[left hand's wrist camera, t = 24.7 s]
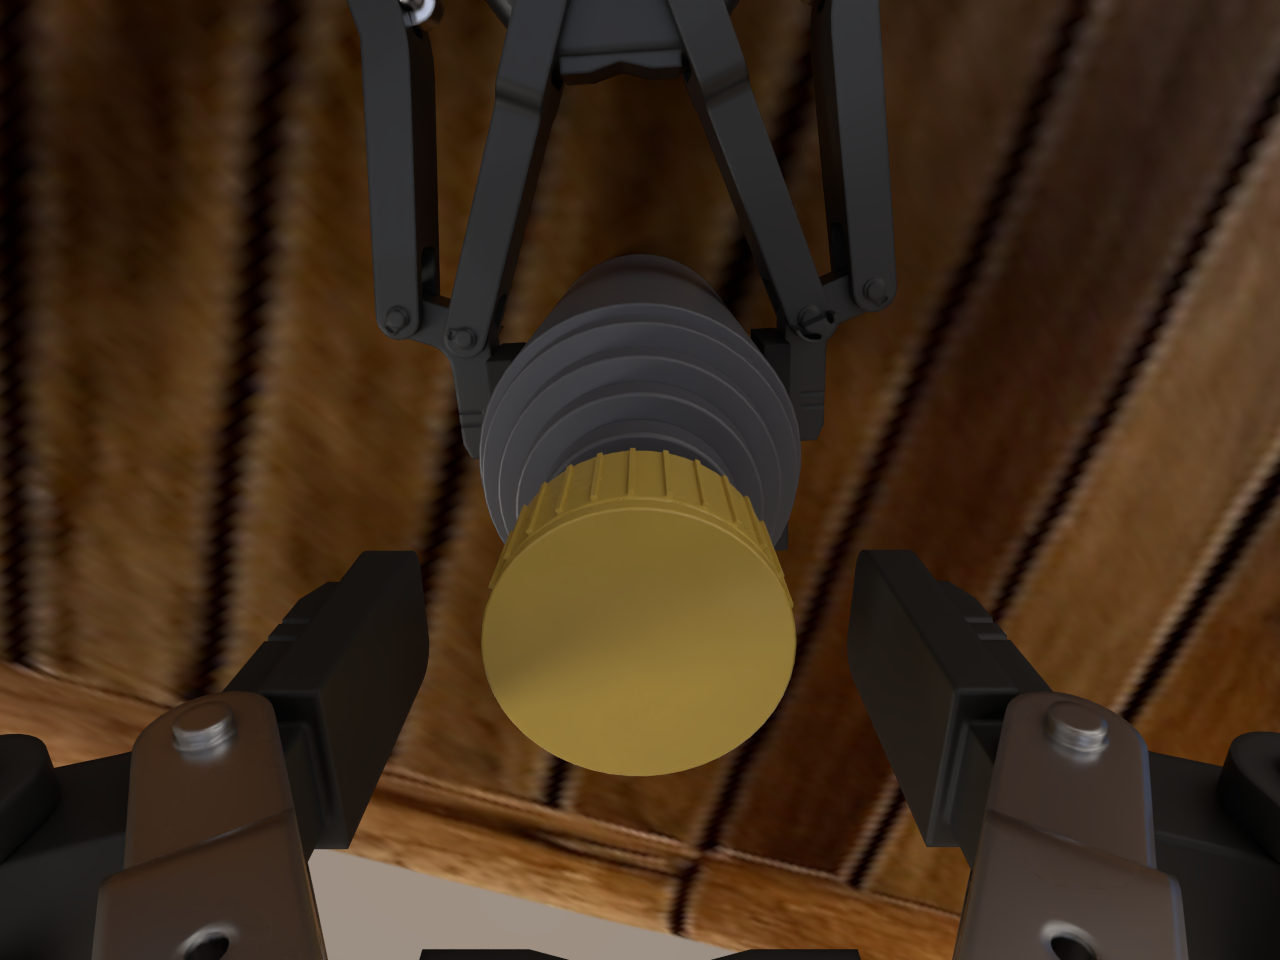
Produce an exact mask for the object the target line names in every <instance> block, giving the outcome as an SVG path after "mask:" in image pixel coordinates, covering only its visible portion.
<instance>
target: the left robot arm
mask: <svg viewBox="0 0 1280 960" xmlns="http://www.w3.org/2000/svg"><path fill="white" fill-rule="evenodd" d="M847 652H848V661H849V667H850V671H851V675H852V678H853V680H854V682H855V685H856V687H857V689H858V691H859V694H860V696H861V698H862V701H863V703H864V705H865V707H866V710H867V712H868V714H869V716H870V719H871V721H872V723H873V726H874V728H875V730H876V732H877V735H878V737H879V739H880V742H881V744H882V746H883V748H884V751H885V753H886V755H887V758H888V760H889V762H890V764H891V767H892V769H893V771H894V774H895V776H896V778H897V780H898V783H899V785H900V787H901V789H902V792H903V794H904V796H905V799H906V801H907V803H908V805H909V808H910V810H911V812H912V815H913V817H914V819H915V821H916V824H917V826H918V828H919V831H920V833H921V835H922V837H923V840H924V842H925V844H926V846H927V847H960V848H961V850H962V852H963V854H964V856H965V858H966V860H967V862H968V864H969V866H970V868H971V871H970V875H969V880H968V884H967V889H966V894H965V899H964V904H963V909H962V914H961V919H960V924H959V929H958V933H957V938H956V943H955V948H954V953H953V958H952V960H1280V733H1275V732H1250V733H1246V734H1242V735H1240V736H1238V737H1237V738H1235V739H1234V741H1233V742H1232V743H1231V746H1230V749H1229V751H1228V754H1227V757H1226V760H1225V762H1224V765H1223V767H1222V766H1217V765H1212V764H1207V763H1203V762H1198V761H1193V760H1188V759H1183V758H1179V757H1174V756H1169V755H1164V754H1159V753H1155V752H1151V751H1148V749H1147V745H1146V743H1145V741H1144V739H1143V738H1142V736H1141V735H1140V734H1139V733H1138V731H1137V730H1136V729H1135V728H1134V727H1133V726H1132V725H1131V724H1130V723H1128V722H1127V721H1126V720H1124V719H1123V718H1122V717H1120V716H1119V715H1117V714H1116V713H1114V712H1112V711H1111V710H1109V709H1107V708H1105V707H1103V706H1101V705H1099V704H1097V703H1094V702H1092V701H1089V700H1087V699H1084V698H1081V697H1078V696H1074V695H1070V694H1066V693H1059V692H1053V691H1052V690H1051V689H1050V687H1049V686H1048V685H1047V684H1046V682H1045V681H1044V680H1043V679H1042V678H1041V676H1040V675H1039V674H1038V673H1037V672H1036V670H1035V669H1034V668H1033V667H1032V666H1031V664H1030V663H1029V662H1028V661H1027V660H1026V658H1025V657H1024V656H1023V655H1022V654H1021V652H1020V651H1019V650H1018V649H1017V647H1016V646H1015V645H1014V644H1013V643H1012V641H1011V640H1007V635H1006V634H1005V633H1004V632H1003V631H1002V629H1001V628H1000V627H999V626H998V625H997V623H993V618H992V617H991V616H990V615H989V614H988V612H987V611H986V610H985V609H984V608H983V606H982V605H981V604H980V603H979V602H978V600H977V599H976V598H974V597H973V596H971V595H970V594H968V593H966V592H965V591H963V590H962V589H960V588H958V587H957V586H955V585H954V584H952V583H950V582H949V581H936V580H935V579H934V578H933V576H932V575H931V574H930V572H929V571H928V570H927V568H926V567H925V566H924V564H923V563H922V562H921V561H920V559H919V558H918V557H917V555H916V554H915V553H914V552H913V551H912V550H862V551H861V552H860V554H859V556H858V559H857V563H856V570H855V578H854V587H853V595H852V603H851V612H850V620H849V628H848V638H847ZM428 657H429V636H428V627H427V619H426V611H425V603H424V594H423V586H422V578H421V570H420V563H419V559H418V556H417V554H416V553H415V552H414V551H364V552H362V554H361V555H360V556H359V557H358V558H357V560H356V561H355V562H354V564H353V565H352V566H351V568H350V569H349V570H348V571H347V573H346V574H345V575H344V577H343V578H342V579H341V580H340V582H327V583H325V584H324V585H322V586H321V587H319V588H317V589H316V590H314V591H312V592H311V593H309V594H308V595H306V596H304V597H303V598H301V599H300V600H299V601H298V602H297V603H296V604H295V606H294V607H293V608H292V609H291V610H290V612H289V613H288V614H287V615H286V616H285V617H284V619H283V622H282V624H279V625H278V626H277V627H276V628H275V629H274V631H273V632H272V633H271V634H270V635H269V637H268V641H264V643H263V644H262V645H261V646H260V647H259V649H258V650H257V651H256V652H255V653H254V654H253V656H252V657H251V658H250V659H249V660H248V662H247V663H246V664H245V665H244V666H243V668H242V669H241V670H240V671H239V672H238V674H237V675H236V676H235V677H234V678H233V680H232V681H231V682H230V683H229V684H228V686H227V687H226V688H225V689H224V690H223V691H222V692H221V693H214V694H210V695H206V696H202V697H199V698H196V699H193V700H191V701H188V702H186V703H183V704H181V705H179V706H177V707H175V708H173V709H171V710H169V711H168V712H166V713H164V714H163V715H161V716H160V717H158V718H157V719H156V720H154V721H153V722H152V723H150V724H149V725H148V726H147V727H146V728H145V729H144V730H143V731H142V733H141V734H140V735H139V736H138V738H137V739H136V741H135V743H134V745H133V749H132V751H131V752H127V753H123V754H119V755H114V756H109V757H104V758H100V759H95V760H90V761H85V762H80V763H76V764H71V765H66V766H61V767H56V768H54V767H53V764H52V762H51V759H50V756H49V753H48V751H47V748H46V745H45V744H44V743H43V741H41V740H40V739H38V738H37V737H34V736H30V735H24V734H5V735H0V960H328V958H327V953H326V948H325V943H324V938H323V933H322V929H321V924H320V919H319V914H318V909H317V904H316V899H315V894H314V889H313V884H312V880H311V876H310V871H309V866H308V860H309V858H310V856H311V854H312V852H313V850H314V849H348V848H349V846H350V843H351V841H352V839H353V837H354V834H355V832H356V830H357V828H358V825H359V823H360V821H361V819H362V816H363V814H364V812H365V810H366V807H367V805H368V803H369V801H370V798H371V796H372V794H373V792H374V789H375V787H376V785H377V783H378V780H379V778H380V776H381V774H382V771H383V769H384V767H385V765H386V762H387V760H388V758H389V756H390V753H391V751H392V749H393V747H394V744H395V742H396V740H397V738H398V735H399V733H400V731H401V729H402V726H403V724H404V722H405V720H406V718H407V715H408V713H409V711H410V709H411V706H412V704H413V702H414V700H415V697H416V695H417V693H418V691H419V688H420V686H421V684H422V682H423V679H424V677H425V673H426V669H427V664H428ZM419 960H567V959H564V958H560V957H556V956H552V955H549V954H545V953H541V952H537V951H534V950H530V949H423V950H422V952H421V956H420V959H419ZM713 960H861V959H860V956H859V952H858V949H750V950H746V951H743V952H739V953H735V954H731V955H728V956H724V957H720V958H716V959H713Z"/></svg>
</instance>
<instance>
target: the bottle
mask: <svg viewBox="0 0 1280 960" xmlns="http://www.w3.org/2000/svg"><path fill="white" fill-rule="evenodd" d="M630 448H635V450H636V451H654V452H662V453H663V450H667V451H669V454H672V455H677V456H680V457H684V458H686V459H689V460H691V461H694V460H695V459H697V460H699V461H700V463H701V465H703V466H705V467H707V468H708V469H710V470H712V471H714V472H716V473H717V474H718V475H720V476H721V477H722V476H723V475H725V476H727V477H728V480H729V483H730V484H731V485H732V486H733V487H734V488H735V489H736V490H737V491H738V492H740V493H741V494H742V496H743V497H745V496H746V495H747V496H748V497H749V499H750V501H751V504H752V507H753V510H754V512H755V514H756V516H757V518H758V519H759V521H762V520H763V521H764V523H765V525H766V528H767V531H768V533H769V536H770V539H771V541H772V544H773V547H774V546H775V544H776V543H777V541H778V539H779V538H780V536H781V535H782V532H783V530H784V528H785V526H786V523H787V521H788V519H789V517H790V513H791V510H792V506H793V503H794V500H795V494H796V490H797V486H798V481H799V474H800V467H801V442H800V434H799V427H798V422H797V419H796V415H795V412H794V408H793V405H792V403H791V400H790V398H789V396H788V394H787V391H786V389H785V387H784V385H783V383H782V382H781V380H780V379H779V377H778V375H777V374H776V372H775V370H774V369H773V368H772V366H771V365H770V364H769V362H768V361H767V360H766V358H765V357H764V356H763V354H762V353H761V352H760V350H759V349H758V348H757V346H756V345H755V344H754V342H753V341H752V340H751V338H750V337H749V336H748V334H747V333H746V332H745V331H744V329H743V328H742V327H741V325H740V324H739V323H738V321H737V320H736V319H735V317H734V316H733V315H732V313H731V312H730V311H729V309H728V308H727V307H726V305H725V304H724V303H723V301H722V300H721V299H720V297H719V296H718V295H717V294H716V292H715V291H714V290H713V289H712V287H711V286H710V285H709V284H708V283H707V282H706V281H705V280H704V279H703V278H702V277H701V276H700V275H699V274H697V273H696V272H694V271H693V270H692V269H690V268H689V267H687V266H685V265H683V264H681V263H679V262H677V261H674V260H671V259H669V258H666V257H661V256H656V255H647V254H635V255H626V256H621V257H616V258H613V259H611V260H608V261H605V262H603V263H601V264H599V265H597V266H595V267H593V268H592V269H590V270H589V271H587V272H586V273H585V274H583V275H582V276H581V277H580V278H579V279H578V280H577V281H576V282H575V283H574V284H573V285H572V286H571V287H570V288H569V290H568V291H567V292H566V293H565V295H564V296H563V297H562V299H561V300H560V301H559V302H558V304H557V305H556V306H555V307H554V309H553V310H552V311H551V313H550V314H549V315H548V316H547V318H546V319H545V320H544V322H543V323H542V324H541V325H540V327H539V328H538V329H537V331H536V332H535V333H534V334H533V336H532V337H531V338H530V339H529V341H528V342H527V343H526V345H525V346H524V347H523V348H522V350H521V351H520V352H519V354H518V355H517V356H516V357H515V359H514V360H513V361H512V363H511V364H510V365H509V366H508V368H507V369H506V370H505V372H504V374H503V375H502V377H501V379H500V380H499V382H498V384H497V385H496V387H495V389H494V391H493V394H492V396H491V398H490V401H489V403H488V405H487V408H486V412H485V415H484V419H483V423H482V427H481V435H480V443H479V466H480V473H481V479H482V486H483V489H484V494H485V500H486V503H487V506H488V510H489V513H490V516H491V519H492V521H493V523H494V526H495V528H496V530H497V532H498V534H499V536H500V538H501V539H502V541H503V543H504V544H505V543H506V540H507V538H508V535H509V533H510V531H511V530H512V531H513V529H514V527H515V524H516V522H517V519H518V516H519V514H520V511H521V509H522V507H523V505H524V504H525V505H527V506H528V505H529V503H530V502H531V501H532V500H533V498H534V497H535V496H536V494H537V493H538V492H539V490H540V487H541V485H542V484H543V483H544V482H546V483H547V484H548V483H549V482H550V481H551V480H553V479H554V478H556V477H557V476H558V475H560V474H561V473H562V472H564V471H566V468H567V466H568V465H570V464H572V466H575V465H577V464H579V463H581V462H584V461H587V460H589V459H592V458H594V457H597V454H598V453H603V455H606V454H610V453H616V452H621V451H630Z"/></svg>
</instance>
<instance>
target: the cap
mask: <svg viewBox="0 0 1280 960" xmlns="http://www.w3.org/2000/svg"><path fill="white" fill-rule="evenodd" d="M488 588H491V589H492V592H491V594H490V597H489V600H488V602H487V605H486V608H485V610H484V613H483V622H482V631H481V650H482V660H483V664H484V668H485V673H486V676H487V679H488V682H489V684H490V686H491V689H492V691H493V694H494V695H495V697H496V699H497V701H498V702H499V704H500V706H501V708H502V709H503V710H504V712H505V713H506V714H507V716H508V717H509V718H510V719H511V721H512V722H513V723H514V724H515V725H516V726H517V727H518V728H519V729H520V730H521V731H522V732H523V733H524V734H525V735H526V736H527V737H529V738H530V739H531V740H532V741H534V742H535V743H536V744H538V745H539V746H540V747H542V748H543V749H545V750H547V751H548V752H550V753H552V754H553V755H555V756H557V757H559V758H561V759H564V760H566V761H568V762H570V763H572V764H575V765H578V766H581V767H584V768H587V769H590V770H594V771H599V772H604V773H608V774H616V775H625V776H652V775H662V774H669V773H674V772H679V771H684V770H687V769H691V768H694V767H697V766H700V765H703V764H705V763H708V762H710V761H712V760H714V759H717V758H719V757H721V756H722V755H724V754H726V753H728V752H729V751H731V750H733V749H734V748H736V747H737V746H739V745H740V744H741V743H743V742H744V741H745V740H747V739H748V738H749V737H751V736H752V735H753V734H754V733H755V732H756V731H757V730H758V729H759V728H760V727H761V726H762V725H763V724H764V723H765V721H766V720H767V719H768V718H769V716H770V715H771V714H772V713H773V711H774V710H775V708H776V707H777V705H778V703H779V701H780V700H781V698H782V696H783V695H784V692H785V690H786V687H787V685H788V683H789V680H790V677H791V674H792V670H793V666H794V662H795V652H796V629H795V622H794V617H793V613H792V607H794V606H793V602H792V599H791V596H790V593H789V591H788V588H787V585H786V583H785V580H784V573H783V571H782V568H781V565H780V563H779V560H778V557H777V555H776V552H775V549H774V547H773V544H772V541H771V539H770V536H769V533H768V531H767V528H766V525H765V523H764V521H763V520H762V521H759V519H758V518H757V516H756V514H755V512H754V510H753V507H752V504H751V501H750V499H749V497H748V496H747V495H746V496H745V497H743V496H742V494H741V493H740V492H738V491H737V490H736V489H735V488H734V487H733V486H732V485H731V484H730V483H729V480H728V477H727V476H725V475H723V476H722V477H721V476H720V475H718V474H717V473H716V472H714V471H712V470H710V469H708V468H707V467H705V466H703V465H701V463H700V461H699V460H697V459H695V460H694V461H691V460H689V459H686V458H684V457H680V456H677V455H672V454H669V451H667V450H663V453H662V452H654V451H636V450H635V448H630V451H621V452H616V453H610V454H606V455H603V453H598V454H597V457H594V458H592V459H589V460H587V461H584V462H581V463H579V464H577V465H575V466H572V464H570V465H568V466H567V468H566V471H564V472H562V473H561V474H560V475H558V476H557V477H556V478H554V479H553V480H551V481H550V482H549V483H548V484H547V483H546V482H544V483H543V484H542V485H541V487H540V490H539V492H538V493H537V494H536V496H535V497H534V498H533V500H532V501H531V502H530V503H529V505H528V506H527V505H525V504H524V505H523V507H522V509H521V511H520V514H519V516H518V519H517V522H516V524H515V527H514V529H513V531H512V530H511V531H510V533H509V535H508V538H507V540H506V543H505V546H504V548H503V551H502V553H501V556H500V558H499V561H498V563H497V566H496V568H495V571H494V574H493V576H492V579H491V581H490V584H489V587H488Z"/></svg>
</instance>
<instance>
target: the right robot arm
mask: <svg viewBox="0 0 1280 960" xmlns="http://www.w3.org/2000/svg"><path fill="white" fill-rule="evenodd" d="M485 1H486V2H487V4H488V5H489V6H490V8H491V9H492V10H493V11H494V13H495V14H496V15H497V17H498V18H499V19H500V21H501V22H502V23H503V25H504V26H505V27H506V28H507V33H506V37H505V42H504V46H503V51H502V55H501V60H500V64H499V69H498V73H497V79H496V87H495V105H494V110H493V114H492V119H491V123H490V128H489V132H488V137H487V141H486V145H485V150H484V154H483V159H482V163H481V168H480V172H479V176H478V181H477V185H476V190H475V194H474V199H473V203H472V208H471V212H470V216H469V221H468V225H467V230H466V234H465V239H464V243H463V247H462V252H461V256H460V261H459V265H458V270H457V274H456V278H455V283H454V287H453V292H452V296H451V299H450V298H447V297H443V296H440V270H439V229H438V188H437V147H436V106H435V74H434V61H433V54H432V49H431V43H430V38H429V35H428V31H429V30H431V29H433V28H435V27H436V26H437V25H438V24H439V23H440V21H441V19H442V17H443V13H444V0H347V3H348V5H349V8H350V11H351V14H352V16H353V19H354V22H355V25H356V27H357V30H358V33H359V35H360V42H361V60H362V78H363V96H364V114H365V132H366V149H367V167H368V185H369V203H370V221H371V239H372V257H373V275H374V293H375V311H376V320H377V324H378V326H379V328H380V329H381V331H382V332H383V333H384V334H385V335H387V336H388V337H390V338H392V339H396V340H403V339H411V340H414V341H418V342H421V343H425V344H428V345H431V346H434V347H436V348H438V349H439V350H441V351H442V352H443V353H444V354H445V355H446V356H447V358H448V360H449V361H450V363H451V367H452V371H453V377H454V384H455V391H456V397H457V404H458V410H459V417H460V424H461V430H462V437H463V443H464V446H465V447H466V449H467V451H468V452H469V454H470V456H471V458H472V459H479V443H480V435H481V427H482V423H483V419H484V415H485V412H486V408H487V405H488V403H489V401H490V398H491V396H492V394H493V391H494V389H495V387H496V385H497V384H498V382H499V380H500V379H501V377H502V375H503V374H504V372H505V370H506V369H507V368H508V366H509V365H510V364H511V363H512V361H513V360H514V359H515V357H516V356H517V355H518V354H519V352H520V351H521V350H522V348H523V347H524V346H525V345H526V342H522V343H505V344H501V346H500V345H499V337H498V335H499V334H500V333H501V331H502V329H503V327H504V326H502V325H501V324H502V320H503V316H504V312H505V308H506V304H507V300H508V296H509V292H510V288H511V284H512V280H513V276H514V272H515V268H516V264H517V260H518V256H519V252H520V248H521V244H522V241H523V237H524V233H525V229H526V225H527V221H528V217H529V213H530V209H531V205H532V201H533V197H534V193H535V189H536V185H537V181H538V177H539V173H540V169H541V165H542V161H543V157H544V154H545V150H546V146H547V142H548V138H549V134H550V130H551V126H552V123H553V121H554V119H555V117H556V114H557V111H558V107H559V103H560V99H561V96H562V92H563V88H564V84H565V82H566V84H567V85H580V84H595V83H597V82H600V81H603V80H605V79H608V78H611V77H613V76H616V75H619V74H628V75H633V76H637V77H641V78H645V79H650V80H656V79H671V78H678V77H679V74H680V73H681V75H682V78H683V80H684V83H685V86H686V88H687V91H688V93H689V96H690V98H691V101H692V103H693V105H694V108H695V110H696V111H697V113H698V115H699V117H700V120H701V122H702V125H703V127H704V130H705V132H706V135H707V138H708V140H709V143H710V145H711V148H712V151H713V153H714V156H715V158H716V161H717V164H718V166H719V169H720V171H721V174H722V177H723V179H724V182H725V184H726V187H727V190H728V192H729V195H730V197H731V200H732V202H733V205H734V208H735V210H736V213H737V215H738V218H739V221H740V223H741V226H742V228H743V231H744V234H745V236H746V239H747V241H748V244H749V247H750V249H751V252H752V254H753V257H754V260H755V262H756V265H757V267H758V270H759V272H760V275H761V278H762V280H763V283H764V285H765V288H766V291H767V293H768V296H769V298H770V301H771V304H772V306H773V309H774V311H775V314H776V315H777V330H776V329H775V328H763V329H751V340H752V341H753V342H754V344H755V345H756V346H757V348H758V349H759V350H760V352H761V353H762V354H763V356H764V357H765V358H766V360H767V361H768V362H769V364H770V365H771V366H772V368H773V369H774V370H775V372H776V374H777V375H778V377H779V379H780V380H781V382H782V383H783V385H784V387H785V389H786V391H787V394H788V396H789V398H790V400H791V403H792V405H793V408H794V412H795V415H796V419H797V422H798V427H799V434H800V441H805V440H817V437H818V435H819V433H820V431H821V428H822V426H823V423H824V391H825V363H826V345H827V340H828V339H829V338H831V336H832V335H833V333H834V332H835V331H836V328H837V326H838V325H839V324H840V323H842V322H844V321H846V320H848V319H851V318H853V317H856V316H858V315H860V314H863V313H865V312H878V311H880V310H883V309H885V308H886V307H887V306H889V305H890V304H891V303H892V301H893V299H894V297H895V295H896V290H897V279H896V264H895V248H894V232H893V216H892V201H891V185H890V169H889V153H888V138H887V122H886V106H885V90H884V74H883V59H882V43H881V27H880V11H879V1H880V0H801V1H802V2H803V3H805V4H808V5H812V6H813V7H812V13H811V27H810V45H811V60H812V71H813V82H814V92H815V103H816V113H817V124H818V135H819V145H820V156H821V167H822V177H823V188H824V198H825V209H826V220H827V230H828V241H829V252H830V262H831V272H830V273H828V274H825V275H823V276H821V277H819V276H818V273H817V271H816V268H815V265H814V262H813V259H812V257H811V254H810V251H809V248H808V245H807V243H806V240H805V237H804V234H803V231H802V229H801V226H800V223H799V220H798V218H797V215H796V212H795V209H794V206H793V204H792V201H791V198H790V195H789V192H788V190H787V187H786V184H785V181H784V178H783V176H782V173H781V170H780V167H779V165H778V162H777V159H776V156H775V153H774V151H773V148H772V145H771V142H770V139H769V137H768V134H767V131H766V128H765V125H764V123H763V120H762V117H761V114H760V111H759V109H758V106H757V103H756V100H755V98H754V95H753V92H752V89H751V86H750V82H749V75H748V70H747V66H746V62H745V59H744V56H743V53H742V51H741V48H740V45H739V42H738V39H737V36H736V34H735V31H734V28H733V25H732V22H731V20H730V15H731V14H732V12H733V10H734V9H735V7H736V5H737V3H738V2H739V0H485ZM774 549H775V551H779V550H788V521H787V523H786V526H785V528H784V530H783V532H782V535H781V536H780V538H779V539H778V541H777V543H776V544H775V546H774Z"/></svg>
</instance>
